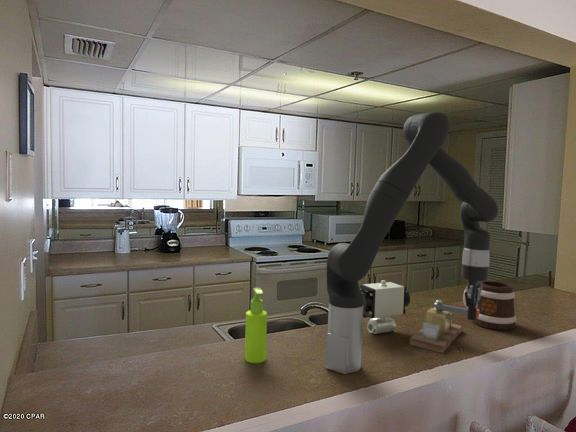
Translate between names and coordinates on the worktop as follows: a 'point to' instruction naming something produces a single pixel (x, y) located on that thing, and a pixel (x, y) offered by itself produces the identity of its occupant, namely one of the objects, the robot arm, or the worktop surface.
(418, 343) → the valve base
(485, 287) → the mug
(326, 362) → the robot arm
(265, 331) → the soap dispenser
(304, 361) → the worktop surface
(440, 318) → the valve pipe
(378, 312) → the ball valve
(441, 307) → the lever
